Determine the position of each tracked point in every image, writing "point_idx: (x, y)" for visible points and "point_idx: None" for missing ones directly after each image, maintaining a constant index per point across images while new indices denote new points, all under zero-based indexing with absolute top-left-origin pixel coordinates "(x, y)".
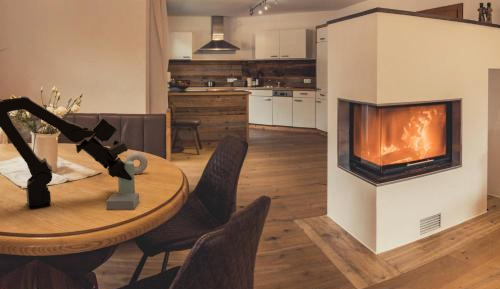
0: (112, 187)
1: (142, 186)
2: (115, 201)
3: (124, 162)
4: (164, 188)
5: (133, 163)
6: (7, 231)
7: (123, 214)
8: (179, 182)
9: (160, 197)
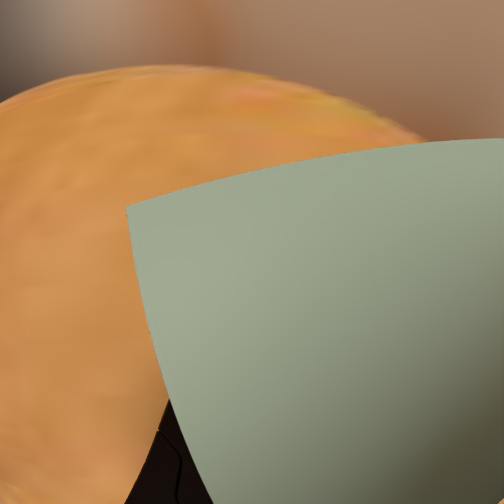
0: (83, 438)
1: (82, 244)
2: None
3: (408, 455)
4: (162, 117)
5: (493, 142)
6: None
7: None
8: (86, 79)
9: (340, 135)
